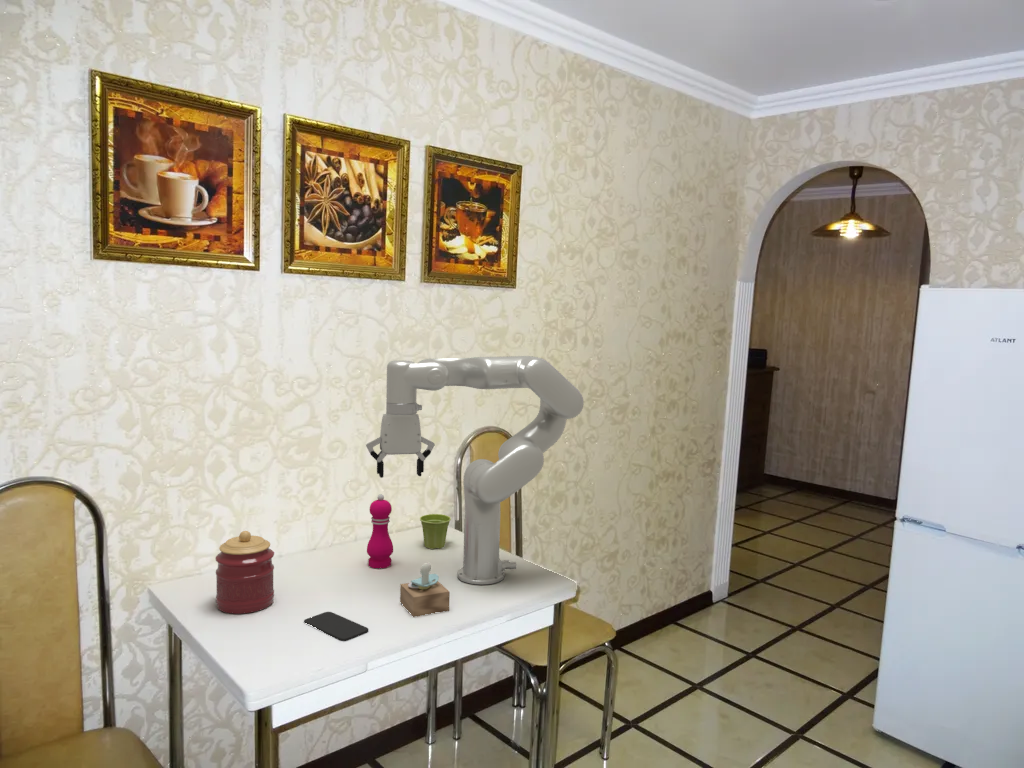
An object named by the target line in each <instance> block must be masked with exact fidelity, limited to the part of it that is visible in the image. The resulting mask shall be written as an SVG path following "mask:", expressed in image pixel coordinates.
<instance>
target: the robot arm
mask: <svg viewBox="0 0 1024 768" xmlns="http://www.w3.org/2000/svg"><path fill="white" fill-rule="evenodd" d="M449 386H450V387H468V388H473V389H476V390H499V389H500V390H501V389H505V390H506V389H530V390H531V391H532V392H533V393H534V394H535V395H536V396H537V397H538V398H539V400H540V401H539V402H540V404H539V410H538V413H537V415H536V416H535V418H534V419H533V420H532V421H531V422H530V423H529V424H527V425H526V426H525V427H524V428H522V429H520V430H519V431H518V432H517V433H515V434H514V435H512V436H511V437H509V438H508V439H507V440H505V441H504V442H503V443H502V444H501V445H500V447H499V450H498V453H497V454H498V455H497V456H498V460H497V461H496V462H493V461H492V460H489V459H485V458H478V459H476V460H474V461H471V462H470V463H469V464H468V465H467V467H466V468H465V471H464V473H463V478H462V479H463V482H462V485H463V497H464V498H463V499H464V523H463V525H464V526H463V530H464V531H463V561H462V563H463V565H462V566H463V567H461V568H459V569H458V570H457V574H456V577H457V578H458V579H459V580H460V581H461V582H463V583H467V584H470V585H471V584H472V585H481V586H482V585H492V584H497V583H498V582H501V581H503V580H504V578H505V571H506V570H516V569H517V562H516V561H509V559H505V560H504V559H503V560H502V559H501V558H500V538H501V537H500V535H501V533H500V532H501V503H502V502H504V501H506V500H507V499H508V498H510V497H511V496H513V495H514V494H516V492H518V491H520V490H521V489H522V488H523V487H525V486H526V485H527V484H528V483H530V482H531V481H533V480H534V479H535V478H536V477H537V476H538V475H539V473H540V472H541V470H542V469H543V466H544V462H545V458H544V456H545V455H544V453H546V451H548V450H549V449H550V448H551V447H553V446H554V445H555V444H556V443H557V442H559V440H560V438H561V437H562V435H563V433H564V430H565V428H566V423H567V420H571V419H574V418H576V417H578V416H579V415H581V412H582V411H583V409H584V405H585V403H584V402H585V401H584V397H583V394H582V393H581V392H580V390H579V389H578V387H576V386H575V385H574V384H573V383H572V382H570V380H568V378H566V377H565V376H564V375H563V374H562V373H561V372H560V371H559V370H558V369H557V368H556V367H555V366H554V365H552V364H551V363H550V362H549V361H547V360H546V359H544V358H542V357H538V356H531V355H518V356H516V355H515V356H514V355H511V356H510V355H509V356H506V355H505V356H477V357H476V356H475V357H474V356H473V357H457V358H456V357H453V358H452V357H449V358H445V357H444V358H443V357H441V358H425V359H421V360H419V362H414V361H412V360H391V361H389V362H388V363H387V365H386V392H385V393H386V396H385V397H386V399H385V401H386V402H385V403H386V407H385V409H386V410H385V413H383V414H382V418H381V423H380V433H379V435H380V436H378V437H377V438H375V439H373V440H371V441H370V442H368V443H366V444H365V447H366V448H367V450H368V452H369V455H370V456H371V457H372V458H373V459H375V460H376V474H377V475H378V476H379V478H381V479H383V478H384V474H385V473H384V469H385V468H384V466H385V465H384V459H385V457H386V456H388V455H391V456H392V455H416V456H417V459H416V475H417V476H418V477H422V473H424V472H425V471H424V469H425V468H424V467H425V464H424V463H425V461H426V459H427V458H428V457H429V456H430V455H431V453H432V451H433V449H434V447H435V443H434V442H433V441H431V440H430V439H427V438H426V437H423V436H422V430H421V421H420V416H419V414H418V411H422V409H423V405H422V404H418V403H417V395H418V394H417V393H418V392H417V391H418V390H424V391H432V392H433V391H439V390H441V389H444V388H445V387H449ZM422 444H425V445H426V446H427V447H426V449H425V450H424V451H421V450H422ZM377 445H379V449H380V451H379V452H378V453H377V452H376V451H375V449H374V447H375V446H377Z"/></svg>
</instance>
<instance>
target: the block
mask: <svg viewBox="0 0 1024 768" xmlns="http://www.w3.org/2000/svg"><path fill="white" fill-rule="evenodd" d="M434 581H435V580H434ZM434 581H432V582H434ZM409 583H410V582H407V583H406V582H405V583H400V585H399V587H400V591H399V596H400V597H399V603H400V602H401V603H402V604H403V606H404V607H405V608H406V609H407V610H408V611H409V612H410V613H411V614H410V613H409V612H408V611H407V610H406V609H405V608H404V607H403V606H402V607H403V608H404V609H405V610H406V611H407V612H408V613H409V614H410V615H411V617H412V616H413V618H415V617H414V616H417V617H421V616H420V615H423V616H426V615H425V614H428V615H432V614H431V613H434V614H436V613H435V612H440V613H444V612H443V611H445V612H449V611H450V590H449V589H447V588H446V587H445V586H444V585H443V584H442V583H441V582H439V581H438V582H437V583H436V584H434V585H431V586H430V588H428V589H423V590H422V589H418V588H410V587H408V584H409ZM413 585H415V584H413ZM415 586H417V585H415Z"/></svg>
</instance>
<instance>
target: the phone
mask: <svg viewBox="0 0 1024 768" xmlns="http://www.w3.org/2000/svg"><path fill="white" fill-rule="evenodd" d="M311 617H312V618H311ZM311 617H308V618H305V619H304V620H303V623H304V622H305V623H307V624H310V625H312V626H313V627H316V628H317V629H319V630H321V631H323V632H324V634H325V633H326V635H327V634H328V635H327V636H329V635H330V636H329V637H331V636H332V638H334V639H336V640H338V641H341V642H348V641H350V640H354V639H355V638H357V637H360V636H363V635H365V634H367V633H369V628H368V627H366V626H364V625H362V624H360V623H358V622H356V621H353V620H351V619H348V618H346V617H344V616H341V615H340V614H336V613H335V612H332V611H324V612H322V613H319V614H317V615H313V616H311ZM305 623H304V624H305ZM307 624H306V625H307ZM313 627H312V628H313ZM317 629H316V630H317ZM319 630H318V631H319ZM321 631H320V632H321ZM323 632H322V633H323Z"/></svg>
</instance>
